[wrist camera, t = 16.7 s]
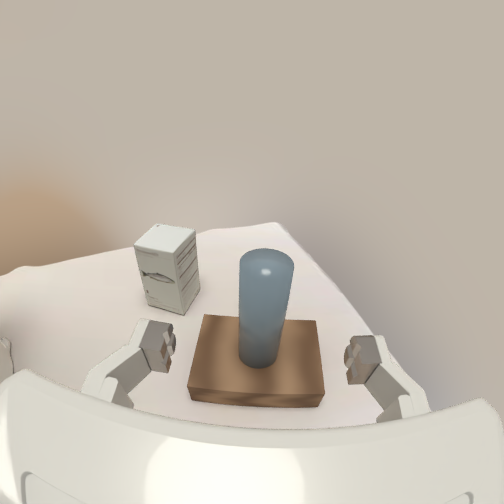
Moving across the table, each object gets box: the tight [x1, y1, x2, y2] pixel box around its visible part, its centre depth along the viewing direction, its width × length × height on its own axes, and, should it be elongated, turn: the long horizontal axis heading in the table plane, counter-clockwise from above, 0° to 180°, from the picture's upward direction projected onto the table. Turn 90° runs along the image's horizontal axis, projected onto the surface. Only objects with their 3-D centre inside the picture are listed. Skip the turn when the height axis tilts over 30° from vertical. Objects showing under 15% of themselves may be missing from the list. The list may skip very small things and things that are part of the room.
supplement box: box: [134, 223, 200, 315], centre depth 43 cm, size 7×7×13 cm
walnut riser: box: [187, 314, 325, 408], centre depth 34 cm, size 16×12×4 cm
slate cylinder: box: [238, 248, 294, 369], centre depth 29 cm, size 5×5×14 cm
